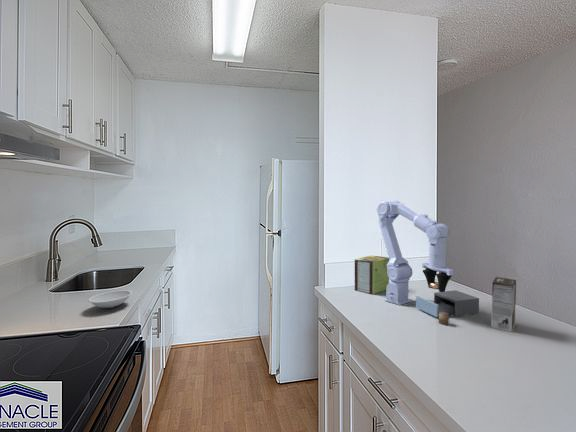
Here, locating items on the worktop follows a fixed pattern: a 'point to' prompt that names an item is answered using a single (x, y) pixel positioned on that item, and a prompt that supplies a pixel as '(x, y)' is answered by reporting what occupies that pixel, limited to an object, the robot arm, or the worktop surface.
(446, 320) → the post
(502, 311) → the coffee box
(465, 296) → the box
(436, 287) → the puck
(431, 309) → the tray
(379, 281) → the protein box
